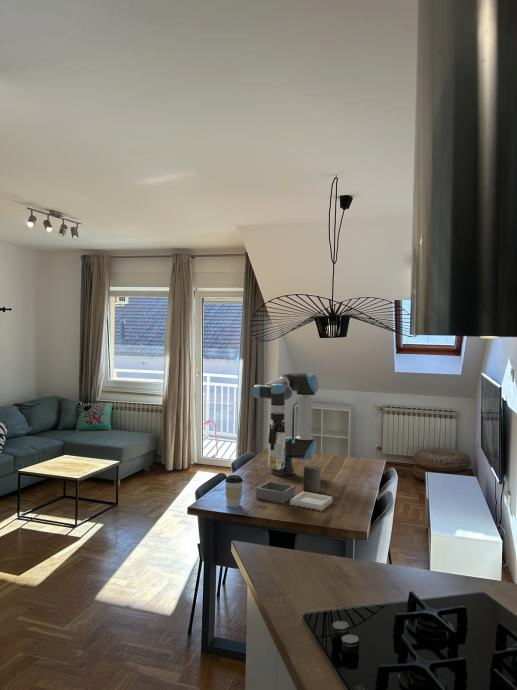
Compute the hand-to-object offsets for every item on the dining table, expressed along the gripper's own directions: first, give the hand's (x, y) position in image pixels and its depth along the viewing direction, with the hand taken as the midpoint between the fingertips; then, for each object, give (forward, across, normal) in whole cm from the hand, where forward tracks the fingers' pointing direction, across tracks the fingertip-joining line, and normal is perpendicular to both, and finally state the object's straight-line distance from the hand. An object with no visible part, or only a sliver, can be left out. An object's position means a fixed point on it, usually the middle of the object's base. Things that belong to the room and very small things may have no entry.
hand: (276, 454), depth 265 cm
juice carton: (+8, 0, 0) cm, 8 cm away
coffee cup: (+23, -24, +12) cm, 36 cm away
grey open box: (+23, 0, 0) cm, 23 cm away
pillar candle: (+24, +22, -12) cm, 34 cm away
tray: (+23, 0, -21) cm, 31 cm away
